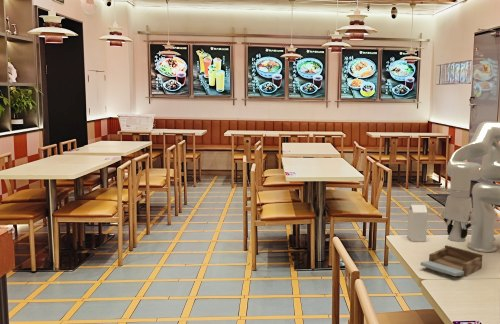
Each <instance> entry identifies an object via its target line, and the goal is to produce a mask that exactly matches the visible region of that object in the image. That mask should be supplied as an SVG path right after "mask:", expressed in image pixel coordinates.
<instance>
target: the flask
mask: <svg viewBox="0 0 500 324" xmlns="http://www.w3.org/2000/svg"><path fill="white" fill-rule="evenodd" d="M453 222H454V223H453V224H452V225H453V228H452V230H451V232H450V234H449V235H448V236H447V240H449V241H451V242H455V243H466V240H467V239H466V237H465V238H461V231H462V229H463V225H462V222H457V221H453Z"/></svg>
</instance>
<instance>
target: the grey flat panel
mask: <svg viewBox="0 0 500 324" xmlns="http://www.w3.org/2000/svg"><path fill="white" fill-rule="evenodd" d="M420 266H421V267H425V268H426V269H430V270H432V271H435V272H438V273H441V274H444V275H450V276H454V277H457V276H458V277H460V276H462V275H463V274H464V271H462V270H458V269H455V268H452V267H448V266H445V265H442V264H438V263H435V262H431V261H429V260H427V261H421V262H420Z"/></svg>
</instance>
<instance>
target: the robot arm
mask: <svg viewBox="0 0 500 324" xmlns="http://www.w3.org/2000/svg"><path fill="white" fill-rule="evenodd" d="M499 142H500V121H489V120H488V121H483V122H480V123H479V124H478V125H477V127H476V130H475V132H474V134H473V135H472V137H471V139H470V142H469V143H467V144H465V145H463V146H461V147H459V148H458V149H456V150H455V151H454V152H453V153H452V155H451V156H450V158H449V160H448V162H447V165H446V168H445V169H446V171H445V172H446V174H447V176H448V177H450V186H449V188H448V189H447V190H446V192H447V193H449V195H447V197H446V201H445V206H444V210H443V212H441V214H440V217H441V219H443V221H444V223H445V224H446V226H447V229H446V232H447V235H448V236H449V234H450V232H451V230H452V228H453V225H454V223H453V222H454V221H457V222H461V225H462V231H461V238H465V239H466V238H467V237H468V230H469V228H470V227H471V235H470V236H471V238H470V241H469V242H467V244H466V246H467V248H469V249H470V250H472V251H477V252H481V253H493V252H496V251H497V246H496V245H494V242H495V241H496V238H495V225H496V210H495V208H494V206H493V205H495V206H500V143H499ZM479 157H482V161H481V164H480V163H479V162H471V161H467V160H470V159H475V158H479ZM480 179H483V180H485V181H489V182H482V181H481V182H476V183H475V184H474V185H473V186H472V190H471V184H472V182H471V181H478V180H480ZM491 182H492V183H491ZM493 182H497V183H493ZM471 192H472V197H471V196H470V195H471Z"/></svg>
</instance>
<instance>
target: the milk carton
mask: <svg viewBox="0 0 500 324" xmlns="http://www.w3.org/2000/svg"><path fill="white" fill-rule="evenodd" d="M407 212H408V213H407V215H408V216H407V230H406V231H407V232H406V233H407V234H406V236H407V239H408V240H410V241H411V242H427V231H428V230H427V228H428V209H427V205H426V202H411V203H410V206H409V207H408V211H407Z"/></svg>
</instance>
